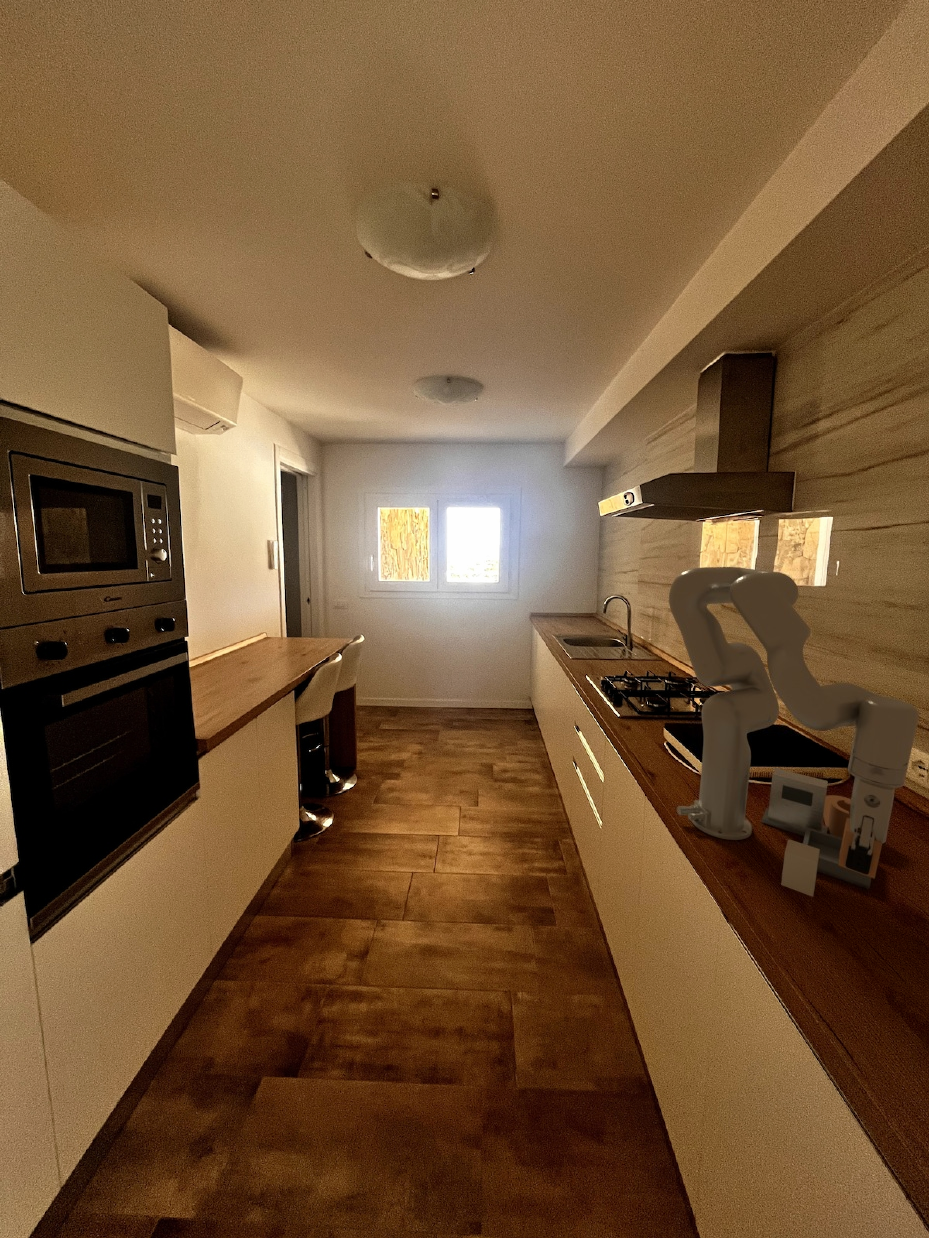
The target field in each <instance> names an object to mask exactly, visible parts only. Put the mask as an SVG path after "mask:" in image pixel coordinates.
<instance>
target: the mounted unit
mask: <svg viewBox="0 0 929 1238" xmlns="http://www.w3.org/2000/svg"><path fill="white" fill-rule="evenodd" d="M771 776H772V778H771V787H770V794H769V802H768V803H769V804H768V807H766V808H765V811H764V813H763V815H762V817H761V824H764V825H767V826H769V827H770V826H771V827H775V828H777V829H781V830H782V831H787V832H790V833H793V834H796V835H800V836H802V837H804V836H805V832H806V828H811V829H814V830H817V831H820V832H824V833H827V834H828V831H827V828H828V826H826V824H825V825H824V824H823V823H824V822H823V820H824V816H823V815H824V807H825V799H826V796H827V789H828V783H829V782H828V780H824V779H820V778H817V777H813V776H808V775H804V774H800V773H797V772H794V771H789V770H785V769H781V768H777V767H774V770H773V773H772V775H771Z"/></svg>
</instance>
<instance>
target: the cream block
mask: <svg viewBox="0 0 929 1238" xmlns="http://www.w3.org/2000/svg"><path fill="white" fill-rule="evenodd" d="M819 851H820V849H817V848H814V847H811V846H808V845H805V844H803V842H802V843H801V842H799V841H796V840H792V839H787V843H786V847H785V850H784V856H783V857H784V858H783V866H782V867H783V868H782V874H781V886H783V887H786V888H789V889H791V890H794V891H796V892H799V893H802V894H805V895H807V896H809V897H814V895H815V894H814V893H815V887H816V881H817V880H816V879H817V873H818V872H817V866H818V858H819Z"/></svg>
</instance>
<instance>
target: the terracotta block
mask: <svg viewBox="0 0 929 1238" xmlns="http://www.w3.org/2000/svg"><path fill="white" fill-rule="evenodd" d="M857 831H858V832H861V830H860V829H857ZM870 836H872V833H871V835H870ZM852 839H853V833H852V832H851V831H850V819H849V818H847V819H846V824H845V829H844V834H843V839H842V844H841V849H840V856H839V866H841V867H844V868H847V867H846V866H845V865H846V859H847V854H848V849H849V846H851V845H852ZM874 839H875V840H874V843H873V849H872V853H873V856H872V861H871V865H870V870H869V874H868V875H866V874H863V873H860V872H858V871H855V870H852V869H850V870H852V871H855V872H858V873H860V874H863V875H866V876H869V877H871V879H874V880H875V878H876V874H877V869H878V865H879V861H880V856H881V851H882V847H883V843H880V842H879V841H877V840H876V837H875V838H874ZM857 840H860V837H859V836H857ZM847 869H849V868H847Z"/></svg>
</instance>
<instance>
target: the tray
mask: <svg viewBox="0 0 929 1238" xmlns="http://www.w3.org/2000/svg"><path fill="white" fill-rule="evenodd" d="M842 839H843V838H840V837H837V836H833V835H831V834H830V833H828V832H827V833H824V832H820V831H817V830H814V829H811V828H806V832H805V836H803V842H802V844H805V845H808V846H811V847H814V848H817V849H820V851H819V858H818V866H817V873H821V874H823V875H825V876H829V877H832V878H835V879H838V880H840V881H844V882H847V883H850V884H852V885H855V886H858V887H860V888H864V889H865V890H866V889H867V890H870V888H871V882H872V878H871V877H869V876H866V875H863V874H860V873H858V872H855V871H852V870H850V869H847V868H844V867H841V866H839V856H840V849H841V844H842Z"/></svg>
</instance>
